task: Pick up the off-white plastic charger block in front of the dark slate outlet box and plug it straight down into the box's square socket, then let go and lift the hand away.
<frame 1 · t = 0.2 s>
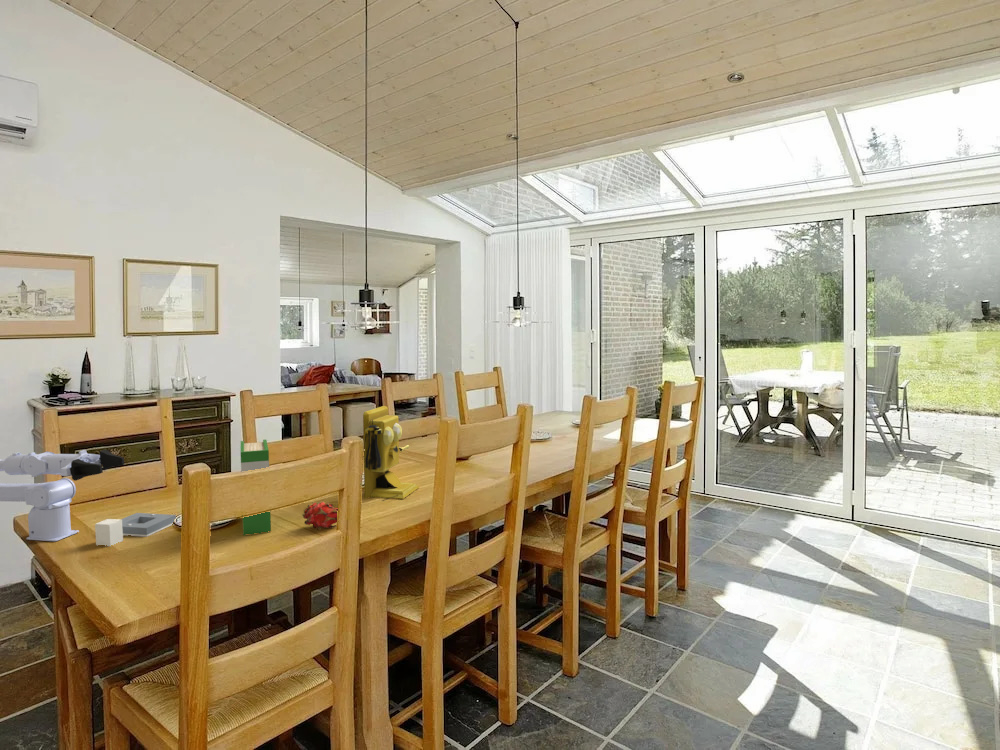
hand: (112, 465, 167), 21 cm above the table, tool horizontal, fingers open, 7 cm apart
vintage telephone: (392, 494, 217), on the table
hardback book: (256, 525, 183), on the table
dragon fruit: (323, 527, 181), on the table
outlet box: (141, 528, 179), on the table
charger: (109, 543, 167), on the table
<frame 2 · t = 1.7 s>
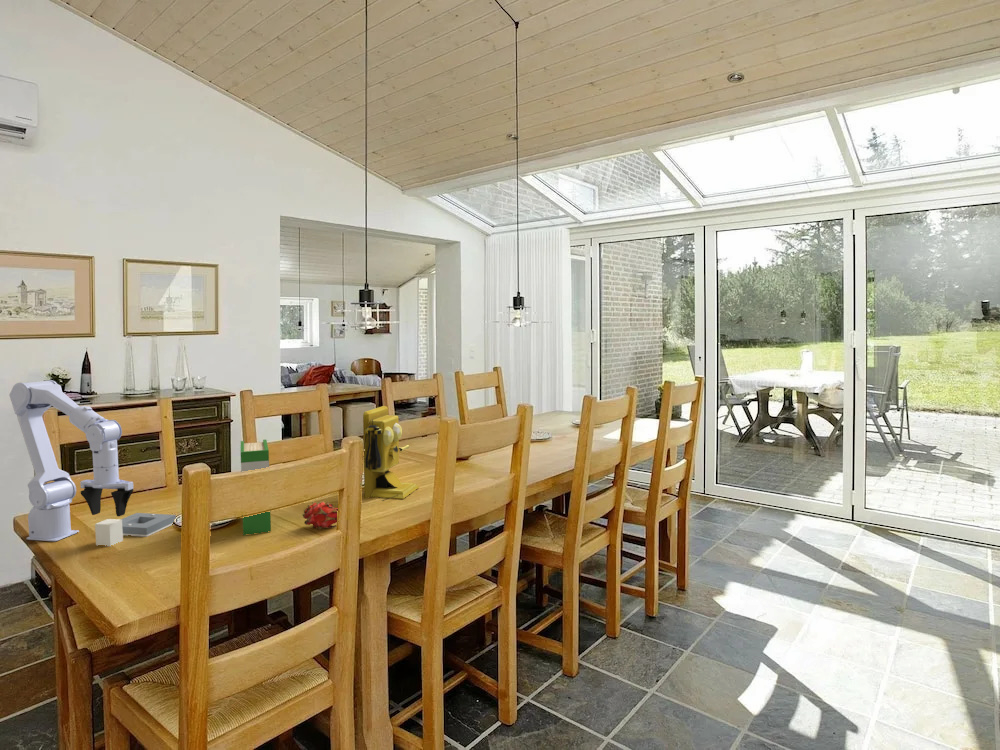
hand: (108, 514, 166), 8 cm above the table, tool pointing down, fingers open, 7 cm apart
nothing on the table moved.
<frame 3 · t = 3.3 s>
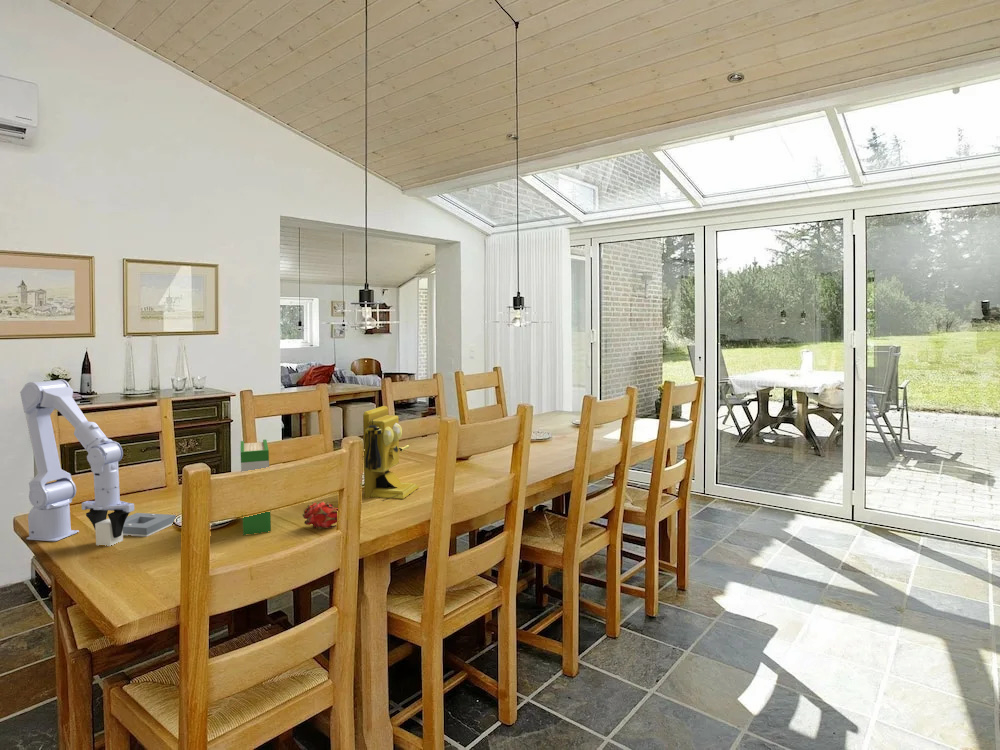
hand: (109, 536, 167), 2 cm above the table, tool pointing down, fingers closed on charger, 4 cm apart
charger: (109, 542, 167), on the table, touching gripper
everything else where it was.
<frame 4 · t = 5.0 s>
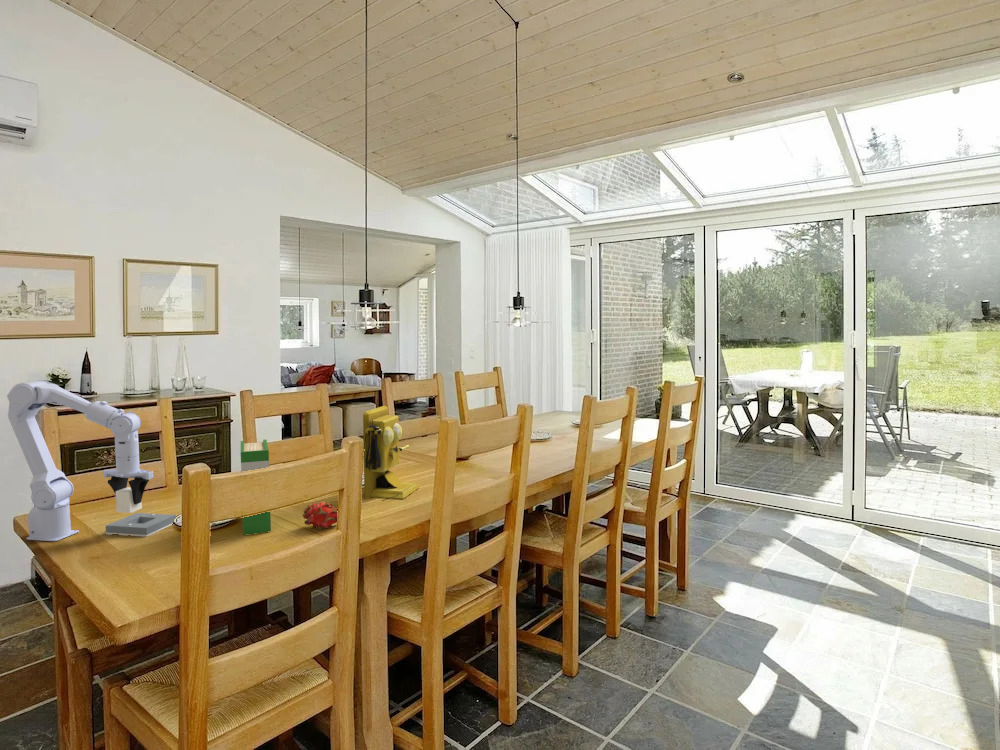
hand: (129, 502, 174), 9 cm above the table, tool pointing down, fingers closed on charger, 4 cm apart
charger: (129, 510, 174), point 7 cm above the table, touching gripper
everything else where it was.
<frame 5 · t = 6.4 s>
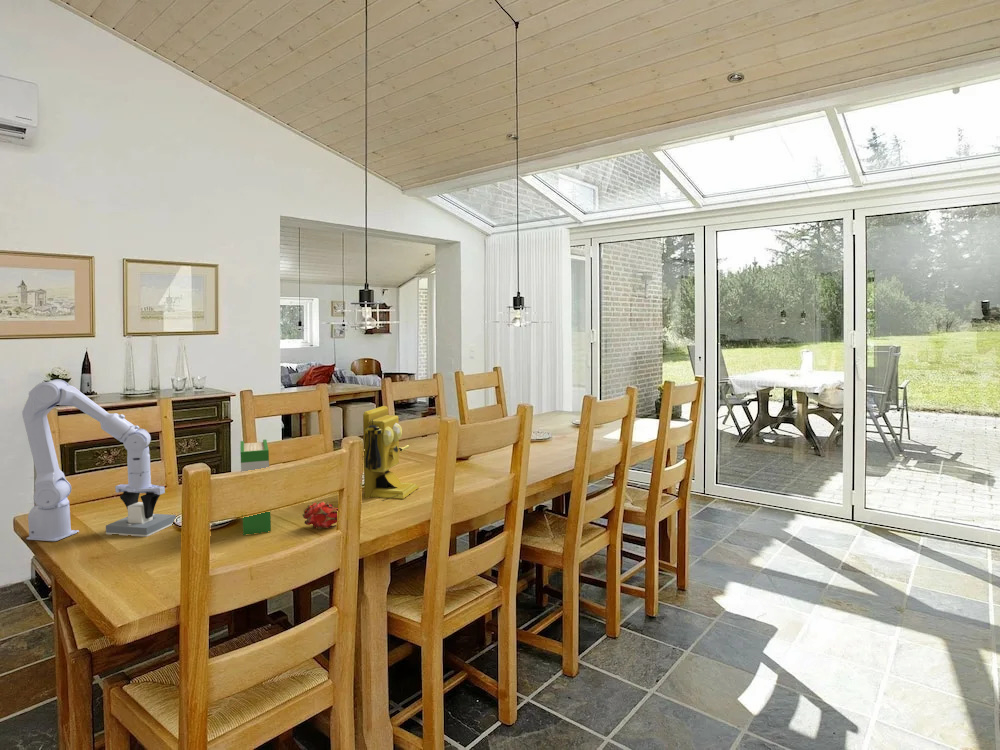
hand: (141, 517, 179), 3 cm above the table, tool pointing down, fingers closed on charger, 4 cm apart
charger: (140, 524, 178), point 1 cm above the table, touching gripper
everything else where it was.
when the fingers open (3 cm above the table, at t = 7.2 s): charger stays where it is, resting on outlet box.
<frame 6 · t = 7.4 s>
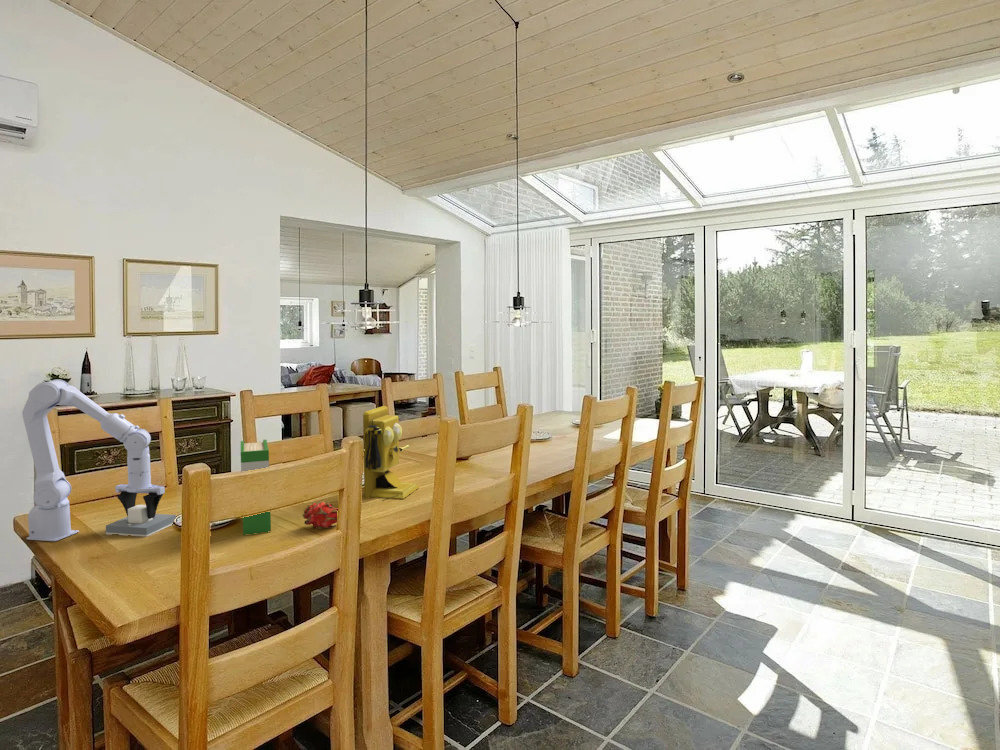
hand: (141, 517, 179), 3 cm above the table, tool pointing down, fingers open, 6 cm apart
charger: (140, 527, 178), resting on outlet box
everything else where it was.
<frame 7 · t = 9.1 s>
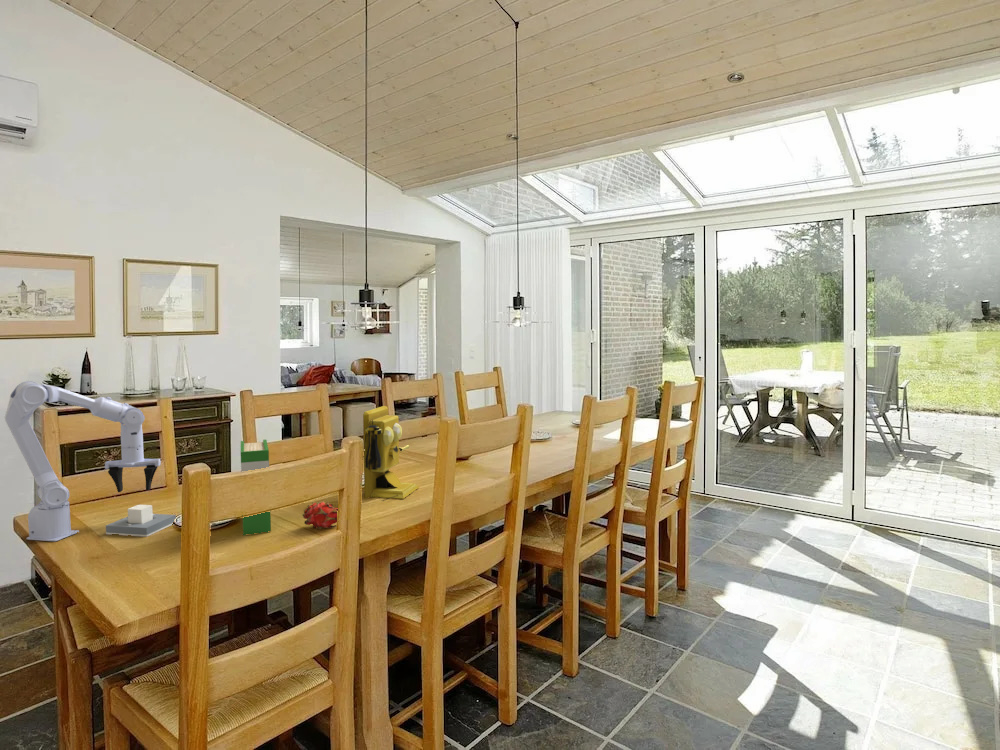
hand: (134, 490, 185), 9 cm above the table, tool pointing down, fingers open, 7 cm apart
nothing on the table moved.
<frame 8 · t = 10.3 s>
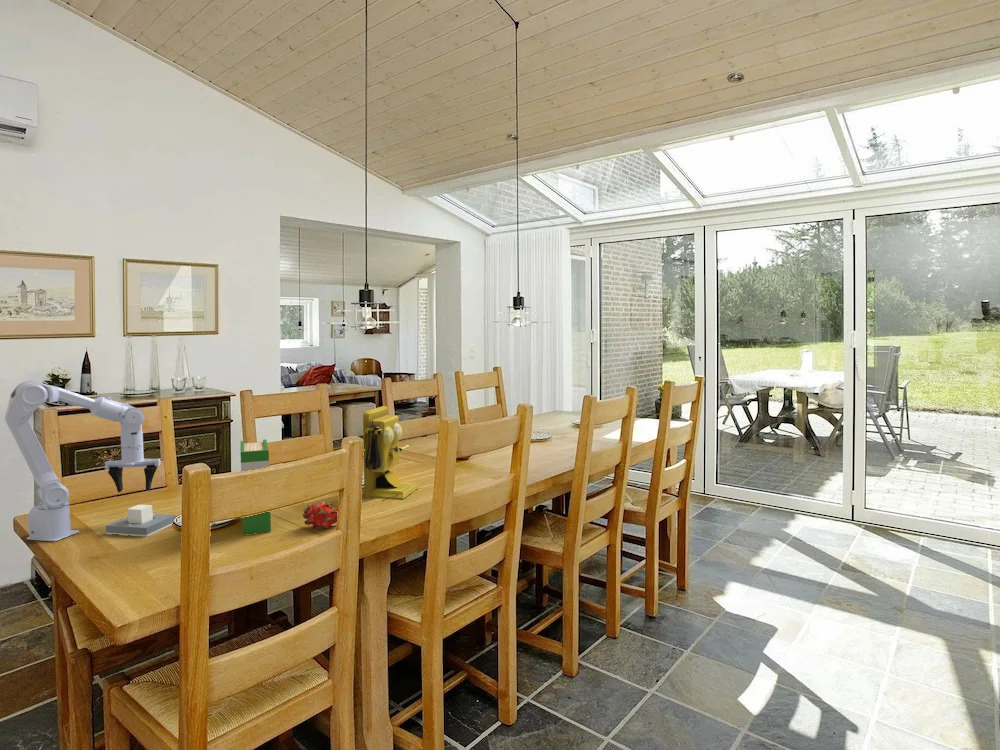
hand: (134, 490, 185), 9 cm above the table, tool pointing down, fingers open, 7 cm apart
nothing on the table moved.
at the end: charger 0.3 cm off-centre on the outlet box, point 0.5 cm above the outlet box's base; charger tilted 0°; the gripper is holding nothing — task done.
